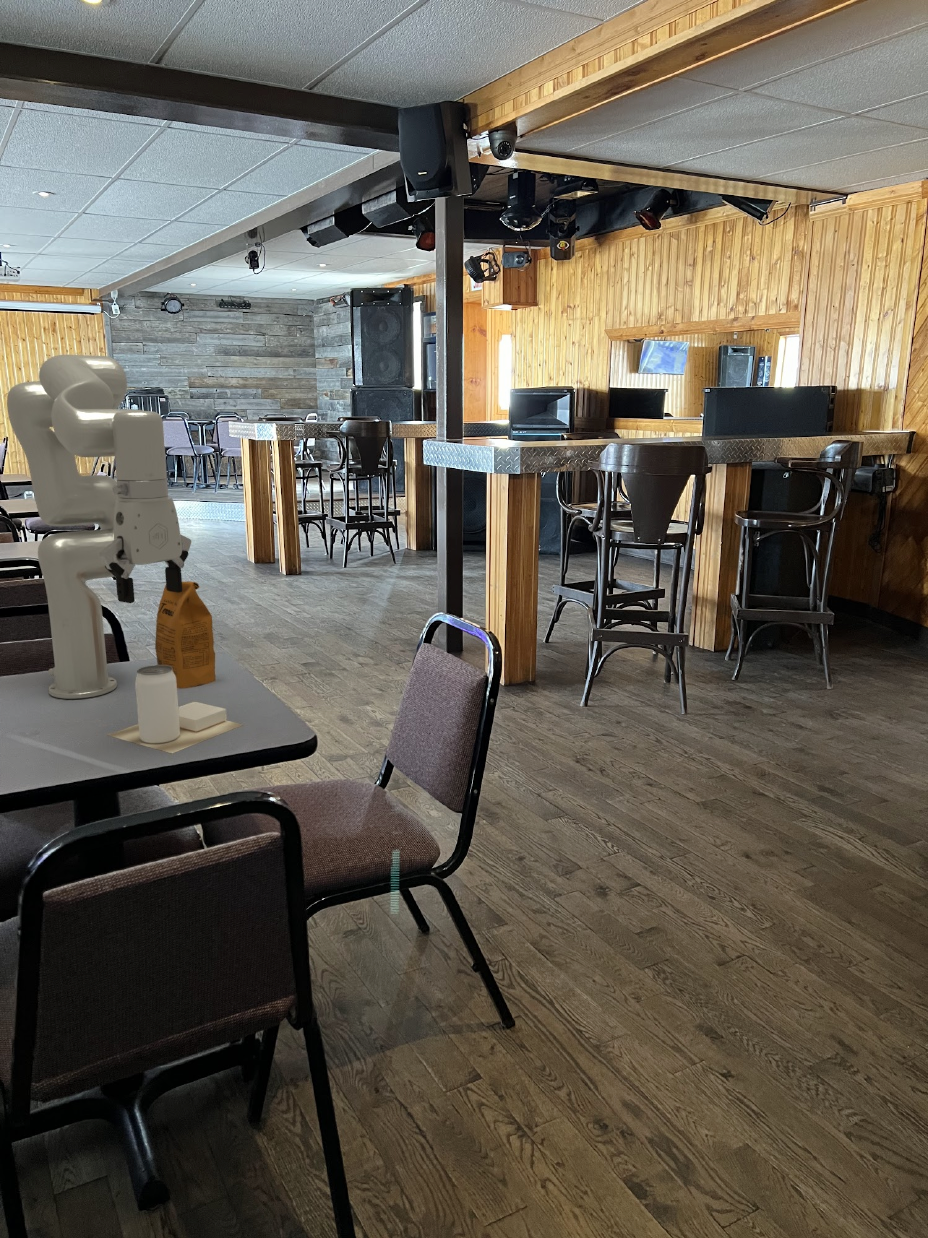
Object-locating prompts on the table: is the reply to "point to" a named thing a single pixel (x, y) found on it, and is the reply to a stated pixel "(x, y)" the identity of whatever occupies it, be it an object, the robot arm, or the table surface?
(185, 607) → the coffee package
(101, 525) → the robot arm
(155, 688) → the can
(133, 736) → the cloth
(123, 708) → the table surface
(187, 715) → the tile
